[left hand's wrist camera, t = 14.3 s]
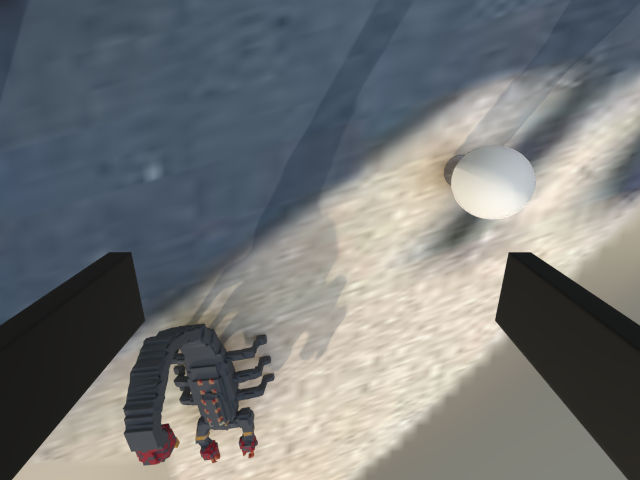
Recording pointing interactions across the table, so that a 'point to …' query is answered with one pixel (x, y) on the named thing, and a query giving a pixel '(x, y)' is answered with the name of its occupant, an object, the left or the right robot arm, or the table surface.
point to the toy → (202, 381)
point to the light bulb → (491, 181)
